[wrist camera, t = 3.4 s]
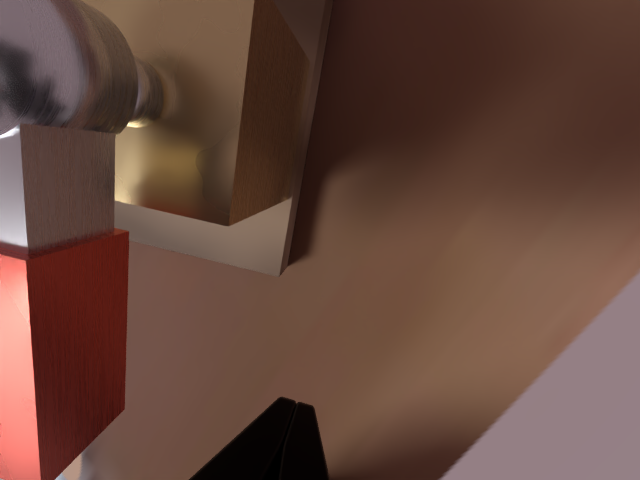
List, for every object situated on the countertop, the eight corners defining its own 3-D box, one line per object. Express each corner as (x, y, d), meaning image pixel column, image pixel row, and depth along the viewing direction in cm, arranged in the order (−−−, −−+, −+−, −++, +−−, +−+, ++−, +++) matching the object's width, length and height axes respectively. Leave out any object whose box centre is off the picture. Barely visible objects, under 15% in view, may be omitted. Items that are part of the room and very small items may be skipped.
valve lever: (23, -5, 6) (-158, -91, 4) (144, 14, 6) (16, -68, 4) (46, 384, 9) (-60, 457, 7) (131, 411, 8) (50, 495, 6)
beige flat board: (287, 266, 16) (279, 276, 15) (-69, 181, 19) (-105, 183, 17) (337, -26, 13) (333, -50, 11) (-107, -87, 15) (-158, -113, 14)
